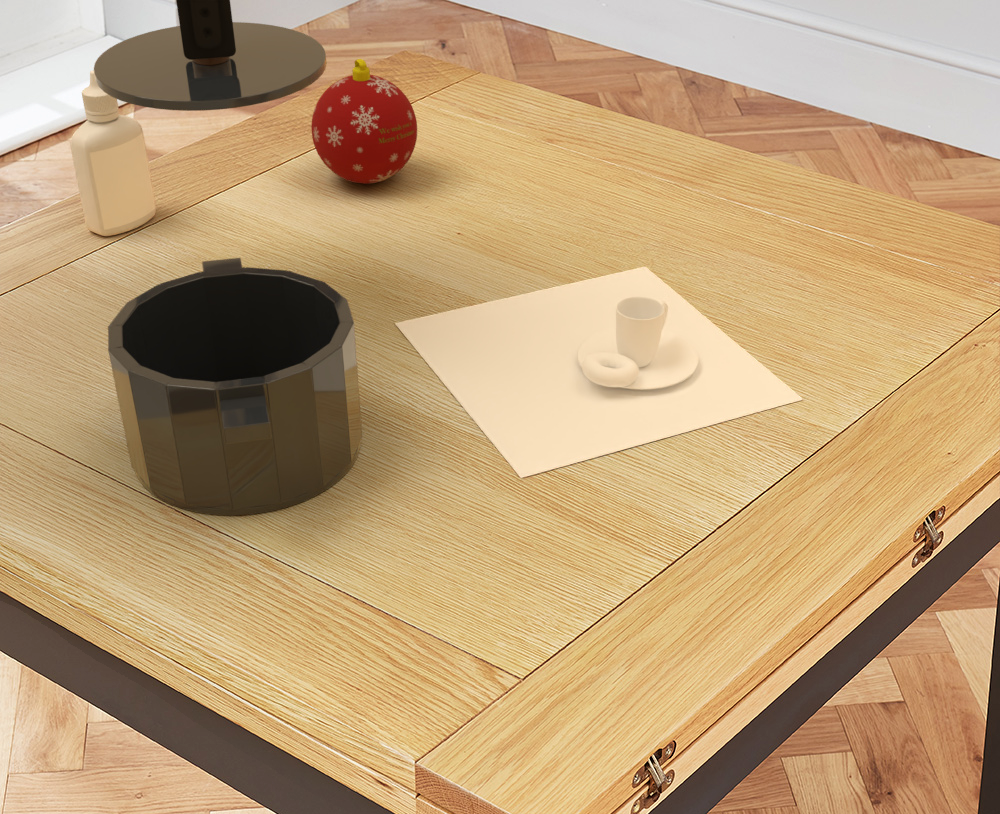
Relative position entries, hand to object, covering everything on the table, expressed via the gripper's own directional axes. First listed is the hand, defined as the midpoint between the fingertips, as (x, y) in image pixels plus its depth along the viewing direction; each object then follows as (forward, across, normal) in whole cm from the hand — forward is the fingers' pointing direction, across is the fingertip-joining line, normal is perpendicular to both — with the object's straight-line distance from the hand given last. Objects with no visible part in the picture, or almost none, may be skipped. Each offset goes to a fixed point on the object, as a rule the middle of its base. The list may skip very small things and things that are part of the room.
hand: (208, 45), depth 86 cm
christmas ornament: (+18, -18, +12) cm, 28 cm away
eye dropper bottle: (+18, -14, -8) cm, 24 cm away
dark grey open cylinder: (+18, +19, -1) cm, 26 cm away
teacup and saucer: (+18, +14, +22) cm, 32 cm away
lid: (+1, 0, 0) cm, 1 cm away
